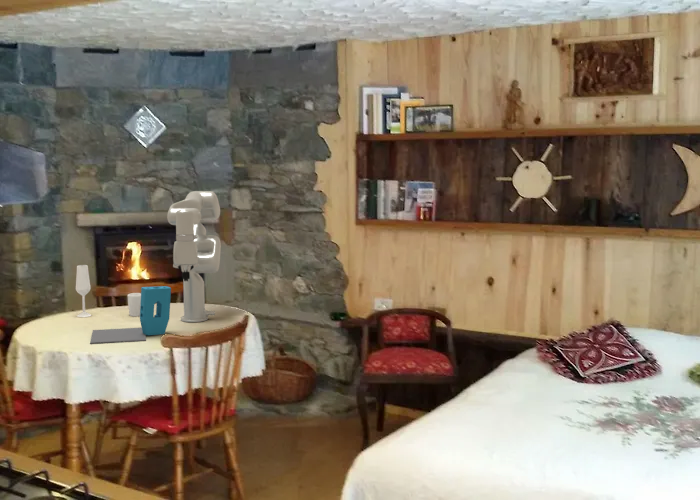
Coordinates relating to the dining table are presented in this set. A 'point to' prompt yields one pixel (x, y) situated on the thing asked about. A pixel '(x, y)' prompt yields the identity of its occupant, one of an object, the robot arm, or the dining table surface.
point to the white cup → (134, 304)
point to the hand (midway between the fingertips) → (185, 280)
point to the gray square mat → (117, 335)
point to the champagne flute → (83, 286)
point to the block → (159, 321)
